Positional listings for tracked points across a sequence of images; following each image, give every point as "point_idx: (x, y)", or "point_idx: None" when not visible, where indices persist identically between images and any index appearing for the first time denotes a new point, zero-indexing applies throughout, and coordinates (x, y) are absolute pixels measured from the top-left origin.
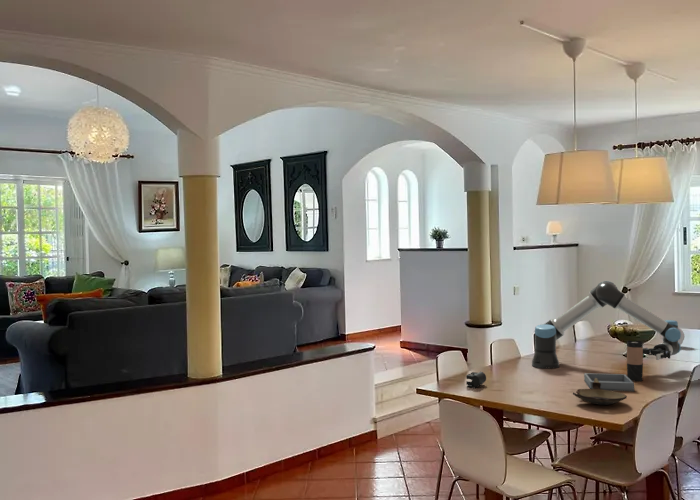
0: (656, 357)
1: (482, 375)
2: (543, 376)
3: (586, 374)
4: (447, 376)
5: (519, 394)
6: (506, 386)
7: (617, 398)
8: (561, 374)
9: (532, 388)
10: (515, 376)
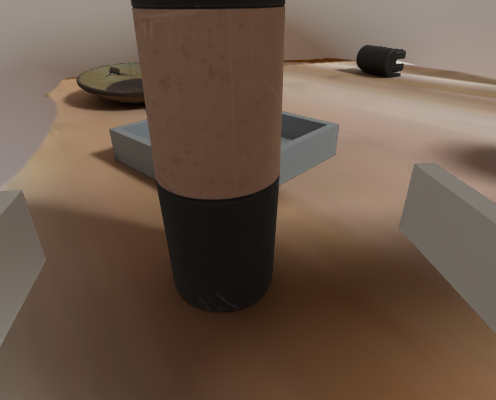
0: (31, 232)
1: (376, 53)
2: (448, 130)
3: (315, 120)
4: (481, 75)
5: (287, 79)
6: (355, 84)
7: (86, 71)
8: (478, 161)
9: (317, 92)
10: (462, 108)
